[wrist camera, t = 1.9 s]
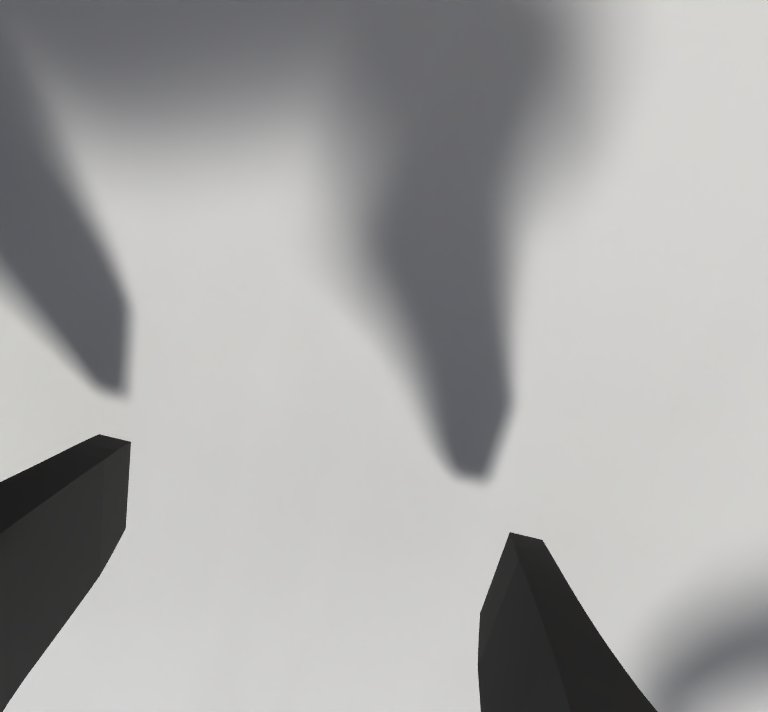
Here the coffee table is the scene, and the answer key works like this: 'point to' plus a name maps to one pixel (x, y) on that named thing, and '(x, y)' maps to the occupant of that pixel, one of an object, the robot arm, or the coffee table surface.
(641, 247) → the coffee table surface
